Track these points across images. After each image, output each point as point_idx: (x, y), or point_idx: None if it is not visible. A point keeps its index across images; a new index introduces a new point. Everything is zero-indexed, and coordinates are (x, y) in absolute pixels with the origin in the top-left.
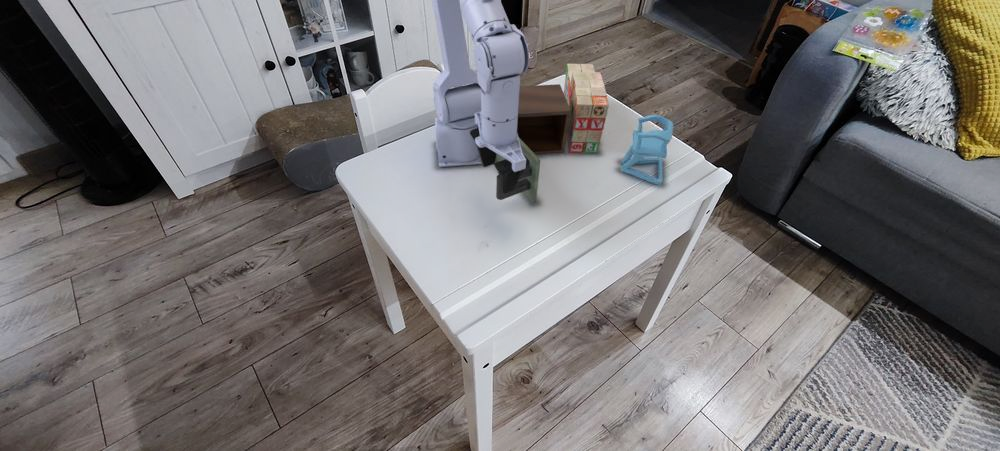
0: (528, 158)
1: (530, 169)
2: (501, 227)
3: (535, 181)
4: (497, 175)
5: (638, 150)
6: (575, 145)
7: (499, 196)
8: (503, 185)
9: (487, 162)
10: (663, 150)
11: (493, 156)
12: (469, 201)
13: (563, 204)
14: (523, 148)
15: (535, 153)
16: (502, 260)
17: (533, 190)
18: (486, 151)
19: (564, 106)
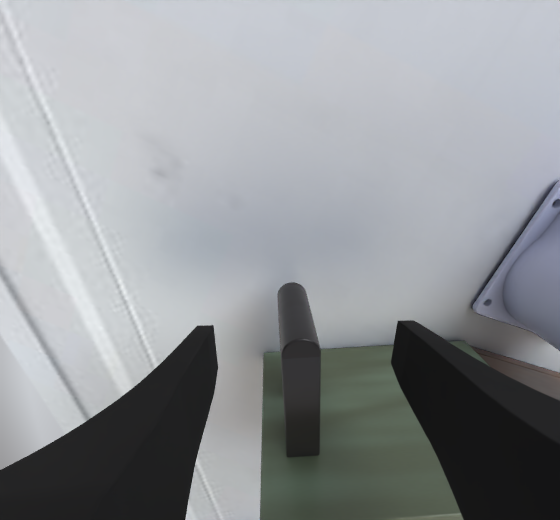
0: (321, 489)
1: (287, 453)
2: (214, 243)
3: (262, 422)
4: (317, 346)
5: None
6: None
7: (281, 294)
8: (161, 363)
9: (405, 349)
10: None
11: (412, 395)
12: (358, 202)
13: (229, 405)
14: (371, 512)
15: None
16: (87, 189)
17: (264, 386)
18: (449, 401)
19: None
